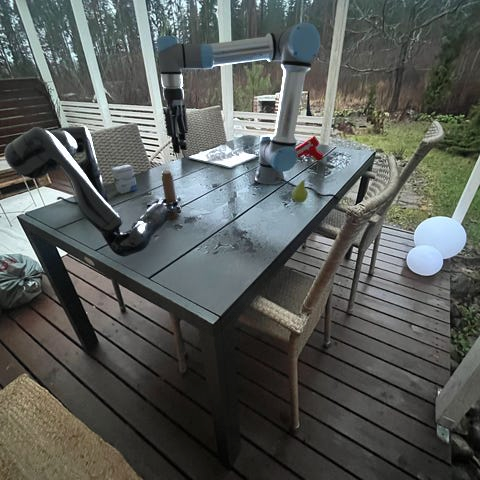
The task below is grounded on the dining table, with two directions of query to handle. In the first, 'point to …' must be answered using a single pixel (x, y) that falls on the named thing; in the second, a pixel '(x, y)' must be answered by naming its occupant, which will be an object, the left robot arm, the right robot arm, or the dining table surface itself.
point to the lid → (181, 142)
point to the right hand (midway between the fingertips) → (180, 151)
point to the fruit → (300, 192)
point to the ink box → (124, 178)
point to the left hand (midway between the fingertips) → (173, 198)
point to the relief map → (223, 156)
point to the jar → (169, 189)
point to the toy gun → (309, 149)
